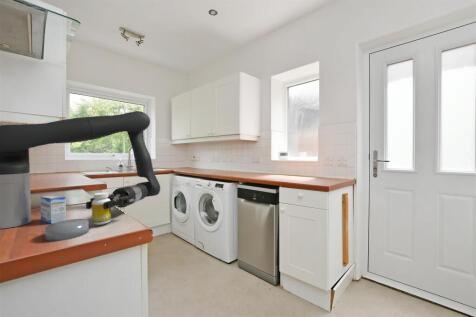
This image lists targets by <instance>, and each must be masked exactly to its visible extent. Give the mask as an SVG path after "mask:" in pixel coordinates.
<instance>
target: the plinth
mask: <svg viewBox="0 0 476 317" xmlns="http://www.w3.org/2000/svg"><path fill="white" fill-rule="evenodd" d="M89 224H90V223H89V219H87V218H75V219H66V220H65V221H60V222H56V223H53V224H51V223H49V224H48V225H46V226H45V227H44V229H45V230H44V231H45V232H44V235H45V240H46V241H49V242H58V241H66V240H71V239H75V238H78V237H81V236H84V235H87V234H88V233H89V231H90V228H89V227H90V226H89Z"/></svg>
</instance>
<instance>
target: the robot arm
mask: <svg viewBox="0 0 476 317" xmlns="http://www.w3.org/2000/svg"><path fill="white" fill-rule="evenodd" d="M150 124H151V119H150V117H149V115H148V114H147V113H146V112H144V111H140V110H135V111H130V112H126V113H120V114H114V115H113V114H112V115H95V116H81V117H73V118H65V119H60V120H54V121H49V122H43V123H30V124H29V123H27V124H26V123H25V124H23V123H22V124H2V125H0V229H8V228H9V229H11V228H15V227H19V226H24V225H27V224H30V223H31V222H32V202H31V200H32V199H31V174H30V173H31V172H30V168H31V167H30V149H33V148H35V147H37V148H38V147H40V146H47V145H52V144H54V145H55V144H69V143H71V144H72V143H81V142H87V141H88V142H89V141H94V140H98V139H101V138H106V137H108V136H112V135H114V134H119V133H125V132H126V133H127V136H128V139H129V141H130V145H131V149H132V154H133V156H134V163H135V167H136V174H137V176H138V177H139V178H144V179H146V180H147V181H143V182H138V183H136V184H132V185H126V186H123V187H118V188H116V189H114V191H113V192H112V193H108V197H107V198H108V199H110V201H107V202H104V204H103V208H104V209H109V208H111V209H112V208H116V207H117V208H120V209H121V208H123V209H124V208H126V207H128V206H131V205H134V204H136V203H137V202H140V201H141V200H144V199H145V198H147V197H156V196H158V195H159V194H160V192H161V185H160V182H159V180H158V178H157V176H156V174H155V172H154V168H153V166H154V165H153V162H152V158H151V154H150V152H149V150H148V148H147V145H146V142H145V138H144V131H145V130H147V129H148V128H149V127H150ZM89 199H90V200H89V201H87V202H86V203H85V209H86V210H90V209H92V201H93V200H95V198H94V197H91V198H89Z"/></svg>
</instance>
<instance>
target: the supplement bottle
mask: <svg viewBox="0 0 476 317" xmlns="http://www.w3.org/2000/svg"><path fill="white" fill-rule="evenodd" d="M93 194H94V195H93V198H95V200H93V201H92V208H91V223H92V225H105V224H107V223H110V222H111V221H112V207H111V208H109V209H104V208H103V204H104V202H107V201H110V199H108V198H107V197H108V195H109V192H107V191H106V192H96V193H93Z"/></svg>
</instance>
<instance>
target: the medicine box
mask: <svg viewBox="0 0 476 317" xmlns="http://www.w3.org/2000/svg"><path fill="white" fill-rule="evenodd" d="M66 207H67V204H66V196H60V195H44V196H40V221H41V222H43V223H48V224H53V223H56V222H60V221H65V220H67V217H66V216H67V212H66V211H67V210H66V209H67V208H66Z"/></svg>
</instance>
